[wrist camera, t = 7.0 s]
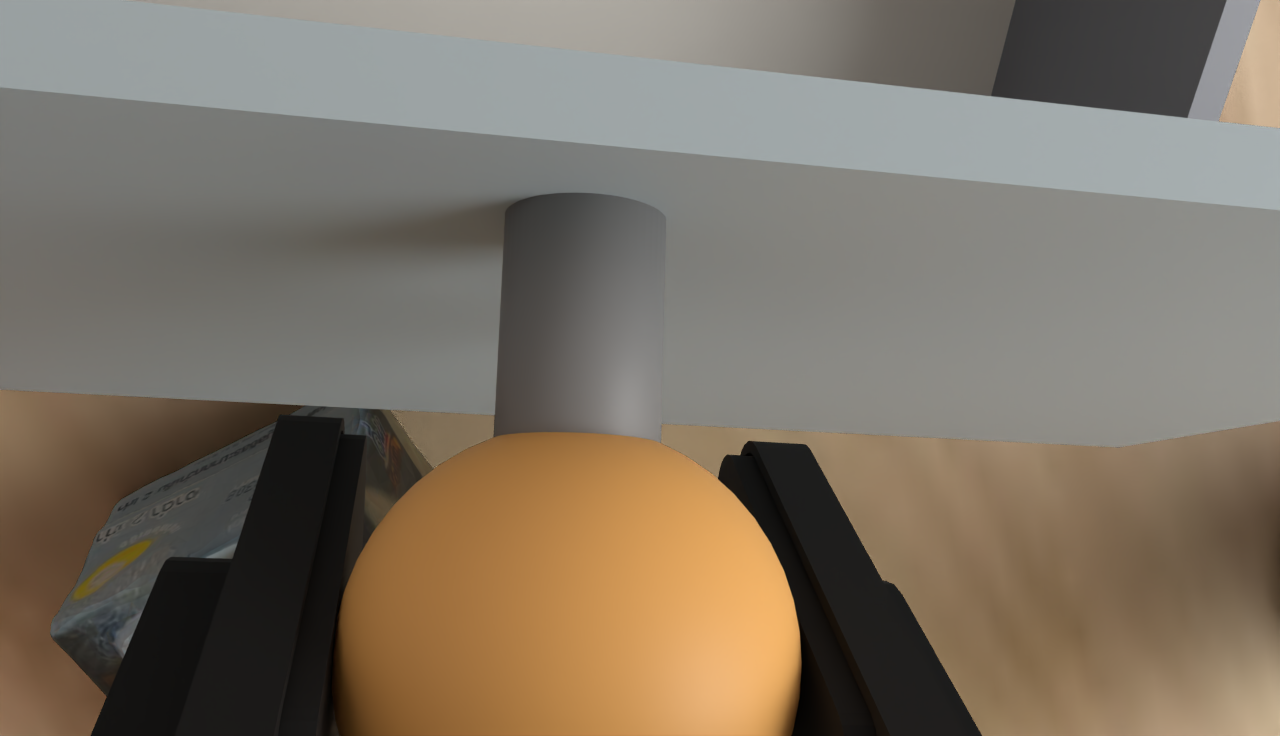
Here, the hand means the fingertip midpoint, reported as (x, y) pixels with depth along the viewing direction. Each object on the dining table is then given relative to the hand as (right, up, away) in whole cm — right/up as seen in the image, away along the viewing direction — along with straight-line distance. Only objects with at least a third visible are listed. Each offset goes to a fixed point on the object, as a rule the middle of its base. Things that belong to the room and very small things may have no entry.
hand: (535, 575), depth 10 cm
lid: (0, +3, +3) cm, 4 cm away
